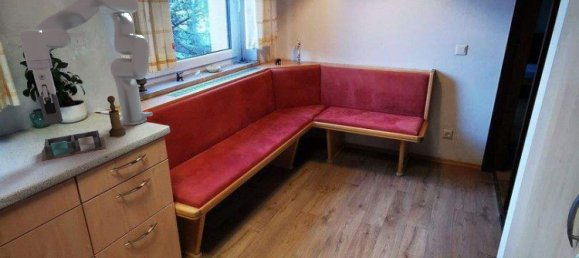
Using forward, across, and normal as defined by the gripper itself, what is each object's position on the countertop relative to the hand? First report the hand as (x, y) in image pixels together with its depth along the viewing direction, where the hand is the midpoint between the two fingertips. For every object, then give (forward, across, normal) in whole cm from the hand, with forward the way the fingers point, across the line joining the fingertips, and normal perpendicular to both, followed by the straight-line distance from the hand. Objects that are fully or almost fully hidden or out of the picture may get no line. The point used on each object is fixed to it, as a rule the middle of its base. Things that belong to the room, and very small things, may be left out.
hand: (51, 110), depth 133 cm
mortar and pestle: (+17, +8, -22) cm, 29 cm away
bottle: (+5, 0, 0) cm, 5 cm away
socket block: (+17, 0, -5) cm, 18 cm away
